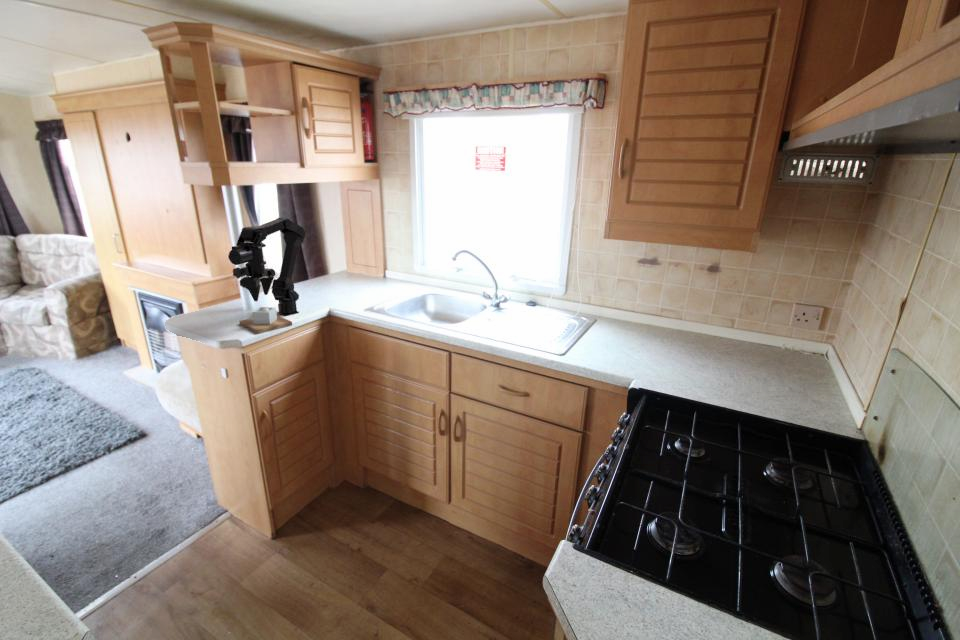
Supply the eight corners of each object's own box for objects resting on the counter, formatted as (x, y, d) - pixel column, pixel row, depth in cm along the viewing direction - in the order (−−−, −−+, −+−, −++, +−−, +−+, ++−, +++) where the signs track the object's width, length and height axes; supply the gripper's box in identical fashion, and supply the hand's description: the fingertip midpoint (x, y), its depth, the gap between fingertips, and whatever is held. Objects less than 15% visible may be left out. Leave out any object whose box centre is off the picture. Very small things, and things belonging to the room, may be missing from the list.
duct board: (273, 316, 195) (271, 302, 193) (292, 325, 185) (290, 310, 183) (239, 324, 185) (237, 309, 183) (258, 334, 175) (255, 318, 173)
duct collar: (261, 318, 188) (259, 307, 186) (277, 318, 188) (275, 307, 186) (253, 323, 181) (252, 311, 180) (270, 324, 181) (268, 312, 180)
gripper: (246, 254, 186) (251, 291, 191) (222, 264, 169) (229, 304, 174) (273, 255, 186) (278, 291, 192) (252, 265, 169) (258, 304, 174)
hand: (261, 297), depth 183 cm, fingers open, 9 cm apart
